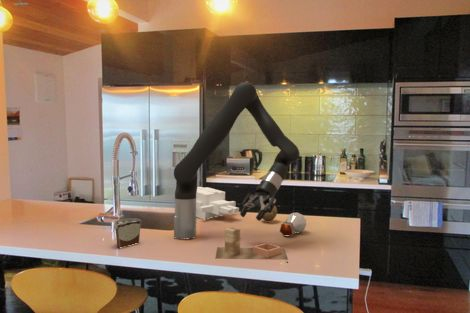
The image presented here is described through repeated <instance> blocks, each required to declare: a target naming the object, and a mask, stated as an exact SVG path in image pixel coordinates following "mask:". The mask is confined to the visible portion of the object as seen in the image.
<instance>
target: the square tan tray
mask: <svg viewBox="0 0 470 313" xmlns="http://www.w3.org/2000/svg"><path fill="white" fill-rule="evenodd" d="M252 248H253V253H254V254H257V255H260V256H264V257H267V258H269V257H273V256H276V255H279V254H282V248H283V246H279V245H276V244H271V243H268V242H264V243H262V244H258V245H254V246H252Z"/></svg>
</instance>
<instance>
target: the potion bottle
mask: <svg viewBox="0 0 470 313" xmlns="http://www.w3.org/2000/svg"><path fill="white" fill-rule="evenodd" d="M306 226H307V219H306V218H305V216H304V215H303V214H301V213H299V212H292V213H290V214H289V215H287V217H286V219H285V221H283V222H282V223H281V224H280V227H279V233H281V235H282V236H284V235H290V236H292V235H294V233H295V232H300V233H302V232H303V231H305V229H306ZM301 231H302V232H301Z"/></svg>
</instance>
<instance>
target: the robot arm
mask: <svg viewBox="0 0 470 313" xmlns="http://www.w3.org/2000/svg"><path fill="white" fill-rule="evenodd" d="M257 91H258V90H257V89H256V87H255V86H254V84H252V83H251V82H249V81H243V82H240V83H238V85H236V87H235V88H234V90H233V91H232V93H231V95H230V97H229V98H228V99H227V102H226V103H225V104H224V105H223V106H222V108H221V109H220V110H219V111H218V113H217V114H216V115H215V116H214V117H213V118H212V119H211V120H210V122H209V123H208V124H207V126H206V127H205V128H204V129H203V131H201V132H202V133H201V134H199V137H198V139H196V141H195V143H194V145H193V146H192V148H191V149H190V150H189V152H188V153H187V154H185V156H184V157H183V159H181V160H180V162H178V163H177V164H176V165H175V167H174V169H173V177H174V179H175V183H176V184H175V190H174V191H175V192H174V216H173V238H174V237H176V238H175V239H177V238H183V239H182V240H187V239H186V238H193V237H195V236H196V237H197V217H196V193H197V187H198V171H199V169H200V168H201V166H202V165H203V163H204V162H205V161H206V160H207V158H209V156H211V155H212V154H213V153H214V152H215V151H217V149H218V147H219V146H220V145H221V144H222V143H223V141H224V140H225V139H226V137H228V135H229V133H230V132H231V130H232V128H233V126H234V125H235V123H236V121H237V119H238V117H239V116H240V115H241V113H242V112H243V111H244V110H245V109H246V111H248V112H249V113H250V115H251V116H252V118H253V119H254V121H255V122H256V124H257V125H258V127H259V129H260V130H261V132H262V134H263V136H264V138H266V139H267V141H268V143H269V144H270V145H271V146H272V147H274V148H275V147H277V149H279V150H280V151H278V153H277V154H276V156H275V158H274V160H273V164H272V165H271V166H270V168H269V170H268V171H267V173H266V174H265V175H264V176H263V178H262V180H261V181H260V183H259V184H258V186H257V187H256V191H255V193H254V194H252V193H251V192H249V193H247V195H246V196H245V197H244V199H243V200H242V202H241V205H242V209H241V211H239V215H240V216H241V218H245V216H246V214H247V213H248V212H249V210H250V209H251V208H255V207H259V208H260V209H262V210H260V209H259V211H258V213H257V215H256V216H255V219H256V220H257V221H259V222H261V220H263V219H262V218H263V216H264V215H265V214H266V213H267V212H269V213H271V211H272V210H273V208H274V206H276V204H277V199H276V198H275V196H276V194H277V192H278V190H279V188H280V187H281V185H282V183H283V181H284V179H285V178H286V177H287V175H288V170H289V167H290V166H291V164H293V163H295V162H296V161H297V160H299V158H300V154H301V153H300V150H299V148H298V145H296V144H295V143H294V142H293V141H292V140H291V139H290V138H288V137H287V136H286V135H285V133H284V132H283V130H281V128H280V126H279V125H278V123H277V122H276V121H275V119H274V118H273V117H272V116H271V115H270V113H269V112H268V111H267V110H266V108H265V107H264V105H263V103H262V100H261V99H260V97H259V95H258V92H257ZM267 203H268V205H267ZM269 208H270V209H269ZM196 237H195V238H196ZM184 238H185V239H184ZM193 239H194V238H193Z"/></svg>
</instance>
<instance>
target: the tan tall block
mask: <svg viewBox="0 0 470 313" xmlns="http://www.w3.org/2000/svg"><path fill="white" fill-rule="evenodd" d="M224 247H225V253H227V254H230V255H235V254H238V253H240V248H241V228H237V227H234V226H233V227H229V228H225V229H224Z"/></svg>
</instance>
